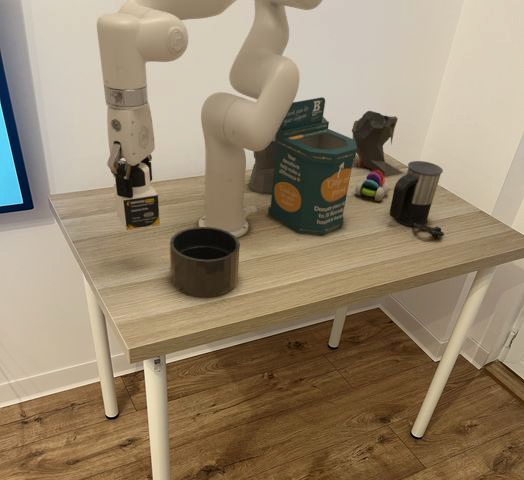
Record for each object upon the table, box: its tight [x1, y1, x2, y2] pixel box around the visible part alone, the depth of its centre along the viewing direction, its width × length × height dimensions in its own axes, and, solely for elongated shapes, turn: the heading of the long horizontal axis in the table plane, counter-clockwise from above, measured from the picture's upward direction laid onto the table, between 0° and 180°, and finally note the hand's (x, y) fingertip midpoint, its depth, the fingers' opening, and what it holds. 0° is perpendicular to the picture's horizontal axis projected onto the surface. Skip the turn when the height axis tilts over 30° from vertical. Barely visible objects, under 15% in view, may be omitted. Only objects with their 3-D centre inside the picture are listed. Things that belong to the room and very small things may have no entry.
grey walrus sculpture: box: [351, 110, 403, 178], centre depth 169 cm, size 14×15×18 cm
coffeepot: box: [248, 135, 276, 195], centre depth 149 cm, size 15×9×18 cm, turn 37°
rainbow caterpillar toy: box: [354, 170, 391, 202], centre depth 155 cm, size 8×10×7 cm
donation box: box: [267, 97, 357, 236], centre depth 133 cm, size 16×16×28 cm
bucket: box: [169, 226, 241, 298], centre depth 113 cm, size 14×14×9 cm
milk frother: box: [389, 160, 445, 238], centre depth 139 cm, size 14×16×15 cm
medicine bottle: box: [113, 162, 161, 231], centre depth 108 cm, size 7×7×12 cm
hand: (135, 187), depth 107 cm, fingers closed on medicine bottle, 7 cm apart
